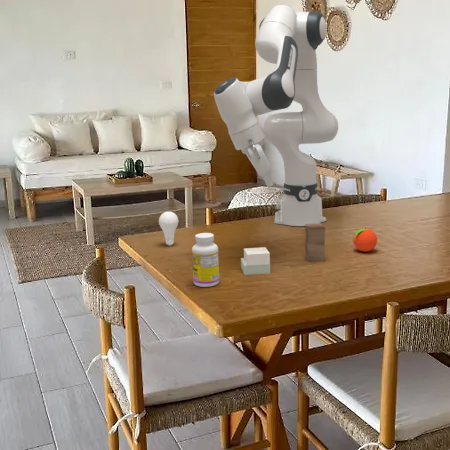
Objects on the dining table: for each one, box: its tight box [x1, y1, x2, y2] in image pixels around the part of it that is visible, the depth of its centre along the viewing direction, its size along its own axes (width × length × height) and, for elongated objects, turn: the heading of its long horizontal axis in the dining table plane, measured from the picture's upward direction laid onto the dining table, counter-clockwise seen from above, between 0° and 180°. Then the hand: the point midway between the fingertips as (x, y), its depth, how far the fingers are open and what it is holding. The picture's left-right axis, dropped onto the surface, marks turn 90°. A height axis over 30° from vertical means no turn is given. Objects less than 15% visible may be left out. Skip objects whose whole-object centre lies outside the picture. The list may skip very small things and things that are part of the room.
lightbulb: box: [158, 211, 179, 247], centre depth 187 cm, size 6×6×11 cm
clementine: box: [352, 227, 378, 253], centre depth 175 cm, size 8×7×7 cm
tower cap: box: [243, 246, 271, 265], centre depth 160 cm, size 6×6×3 cm
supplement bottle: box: [191, 232, 220, 288], centre depth 150 cm, size 7×7×13 cm
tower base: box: [240, 257, 271, 276], centre depth 161 cm, size 7×7×3 cm
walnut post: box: [304, 222, 326, 263], centre depth 168 cm, size 4×4×10 cm
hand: (267, 181), depth 167 cm, fingers open, 8 cm apart
